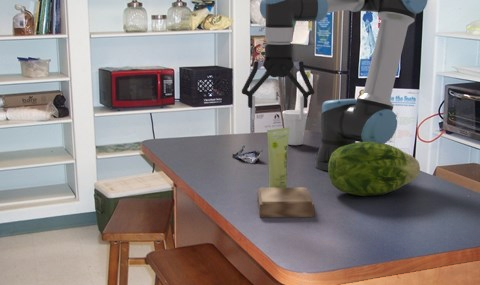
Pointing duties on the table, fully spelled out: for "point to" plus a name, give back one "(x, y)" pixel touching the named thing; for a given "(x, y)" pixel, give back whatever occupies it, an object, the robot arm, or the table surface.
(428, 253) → the table surface
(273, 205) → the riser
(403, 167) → the lettuce
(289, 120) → the cup
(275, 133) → the tube
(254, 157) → the snack package
